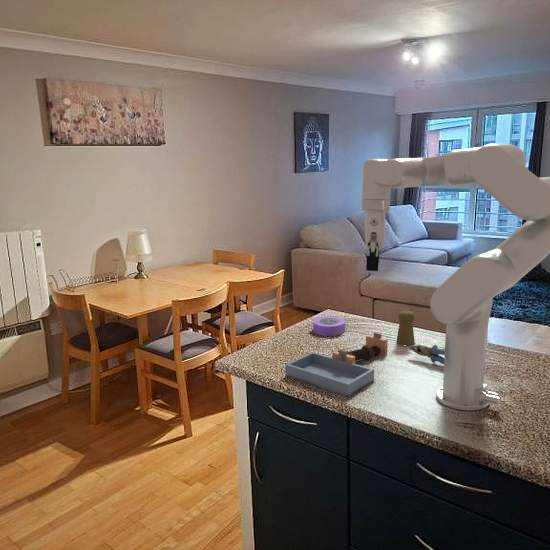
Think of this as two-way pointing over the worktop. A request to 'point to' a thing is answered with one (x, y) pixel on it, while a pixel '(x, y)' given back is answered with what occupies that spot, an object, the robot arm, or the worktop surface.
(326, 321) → the masking tape
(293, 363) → the tray
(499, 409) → the worktop surface
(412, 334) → the cork
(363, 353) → the bolt
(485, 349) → the robot arm
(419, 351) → the pliers
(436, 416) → the worktop surface
